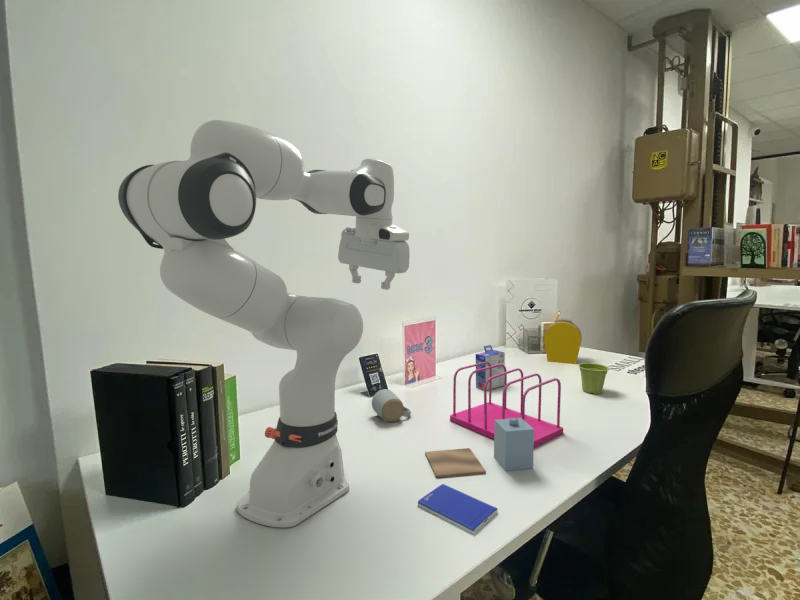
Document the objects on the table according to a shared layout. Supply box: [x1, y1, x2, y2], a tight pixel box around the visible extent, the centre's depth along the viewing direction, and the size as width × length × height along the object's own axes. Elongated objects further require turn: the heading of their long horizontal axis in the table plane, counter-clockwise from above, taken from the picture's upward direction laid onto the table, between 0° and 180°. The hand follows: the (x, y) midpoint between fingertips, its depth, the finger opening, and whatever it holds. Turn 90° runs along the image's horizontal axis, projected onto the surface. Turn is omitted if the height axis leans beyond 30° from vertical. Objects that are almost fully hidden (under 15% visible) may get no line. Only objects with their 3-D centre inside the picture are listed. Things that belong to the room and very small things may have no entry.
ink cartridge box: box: [475, 344, 506, 391], centre depth 150 cm, size 10×6×14 cm, turn 124°
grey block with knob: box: [493, 418, 535, 472], centre depth 95 cm, size 6×6×10 cm
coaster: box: [424, 447, 487, 479], centre depth 96 cm, size 11×11×1 cm
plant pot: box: [578, 362, 610, 395], centre depth 144 cm, size 9×9×9 cm
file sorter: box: [449, 362, 564, 448], centre depth 115 cm, size 17×25×16 cm
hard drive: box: [417, 483, 499, 535], centre depth 79 cm, size 2×8×12 cm
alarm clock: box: [543, 318, 582, 365], centre depth 184 cm, size 15×8×18 cm, turn 66°
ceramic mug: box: [371, 388, 412, 423], centre depth 122 cm, size 11×8×8 cm
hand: (370, 285), depth 106 cm, fingers open, 8 cm apart
